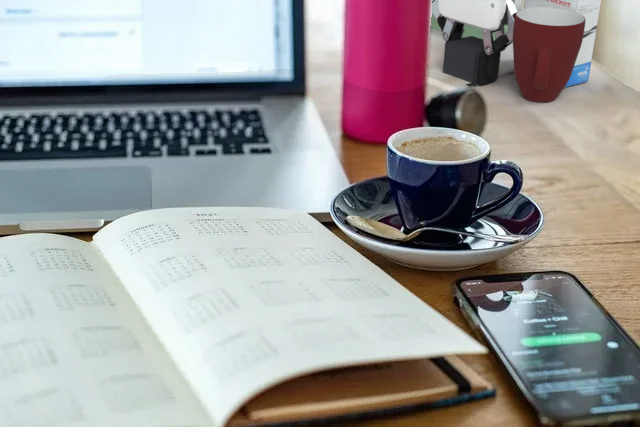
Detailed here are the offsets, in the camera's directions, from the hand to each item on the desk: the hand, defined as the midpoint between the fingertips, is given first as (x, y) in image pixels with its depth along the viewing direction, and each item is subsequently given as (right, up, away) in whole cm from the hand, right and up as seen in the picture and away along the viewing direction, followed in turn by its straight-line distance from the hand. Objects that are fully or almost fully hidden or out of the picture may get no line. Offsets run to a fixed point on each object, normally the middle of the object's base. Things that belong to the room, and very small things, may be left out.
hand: (470, 74), depth 113 cm
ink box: (+11, 0, +1) cm, 11 cm away
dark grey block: (0, 0, 0) cm, 0 cm away
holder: (+3, +9, +18) cm, 21 cm away
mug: (+7, -4, -7) cm, 11 cm away
